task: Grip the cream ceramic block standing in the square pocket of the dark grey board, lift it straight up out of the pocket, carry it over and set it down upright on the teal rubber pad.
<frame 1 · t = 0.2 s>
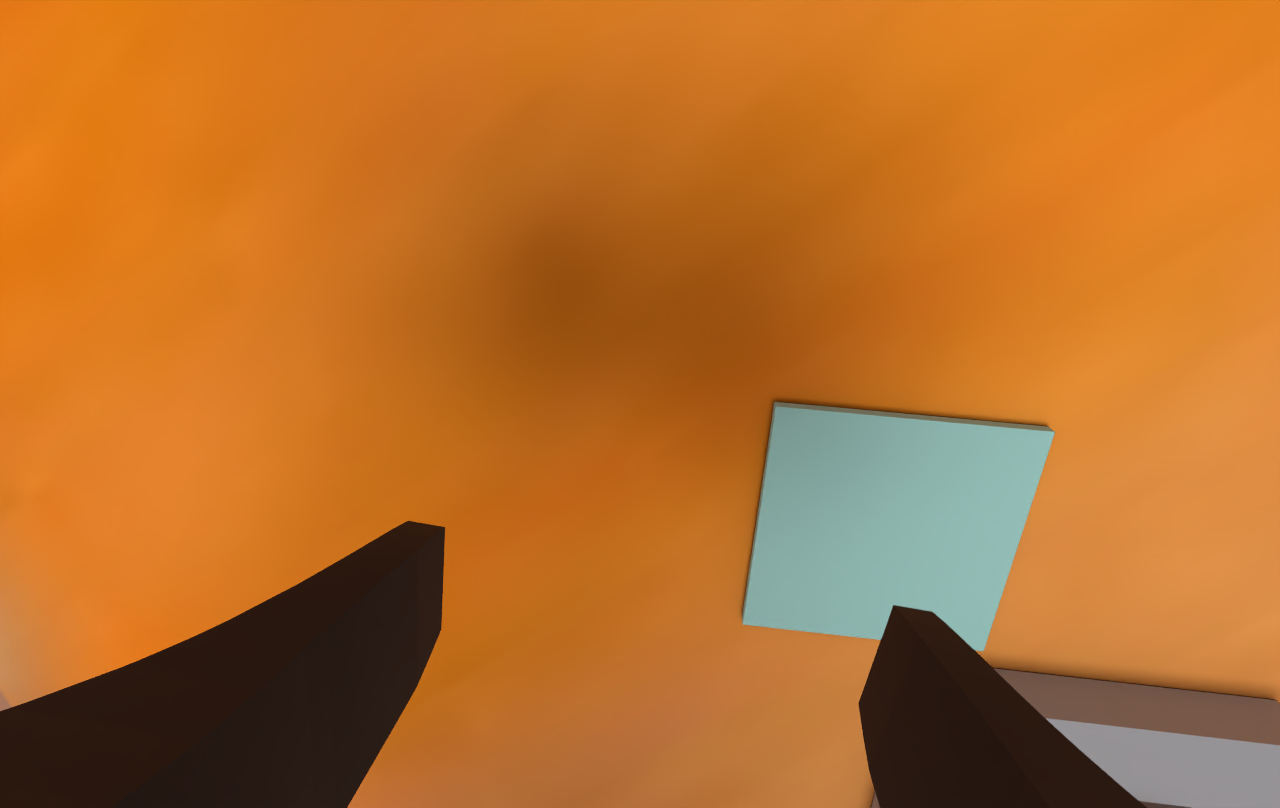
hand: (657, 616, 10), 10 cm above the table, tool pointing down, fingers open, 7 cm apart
pocket board: (1040, 803, 24), on the table
pad: (882, 529, 21), on the table
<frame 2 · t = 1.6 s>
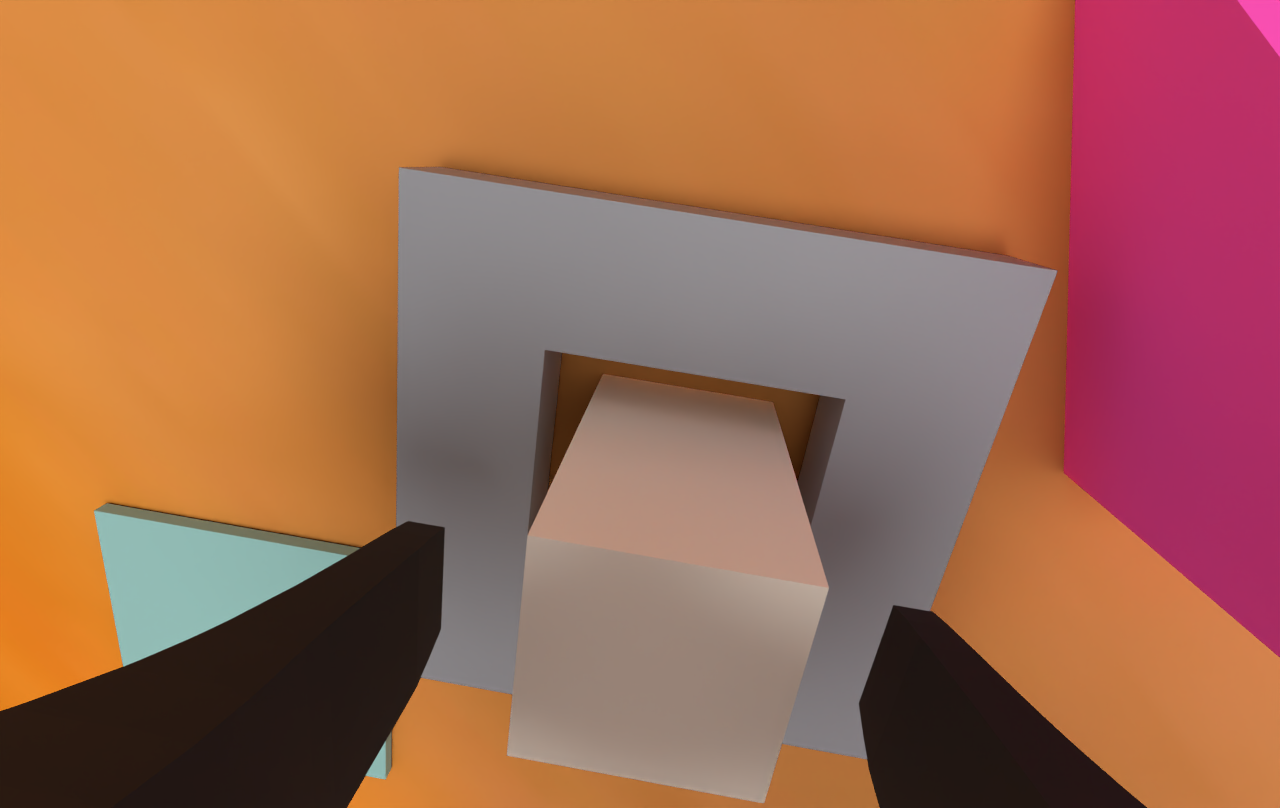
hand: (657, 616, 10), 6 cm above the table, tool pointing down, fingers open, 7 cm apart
block: (666, 543, 12), in the pocket board
pocket board: (673, 465, 16), on the table
pad: (259, 644, 19), on the table
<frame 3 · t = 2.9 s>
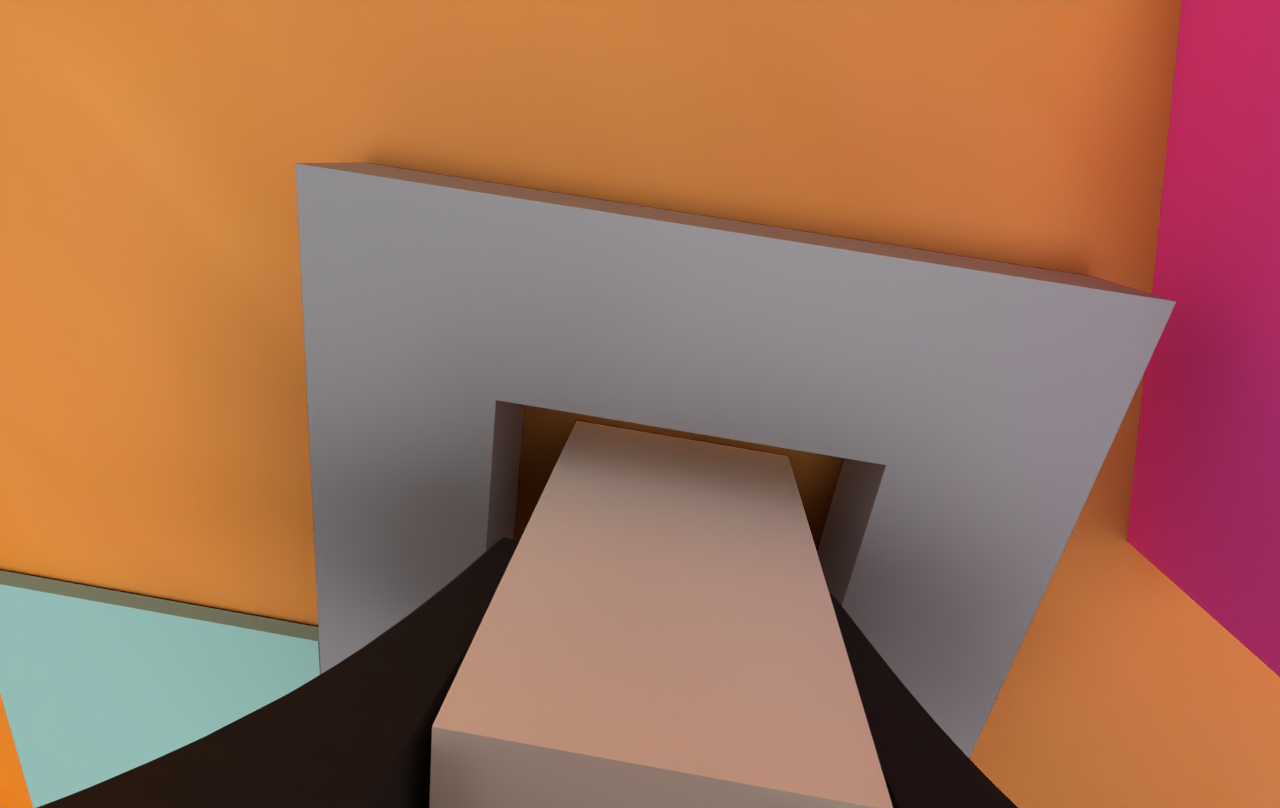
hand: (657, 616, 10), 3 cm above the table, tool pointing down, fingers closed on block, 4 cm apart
block: (653, 656, 9), in the pocket board, touching gripper
pocket board: (665, 529, 13), on the table
pad: (176, 728, 16), on the table
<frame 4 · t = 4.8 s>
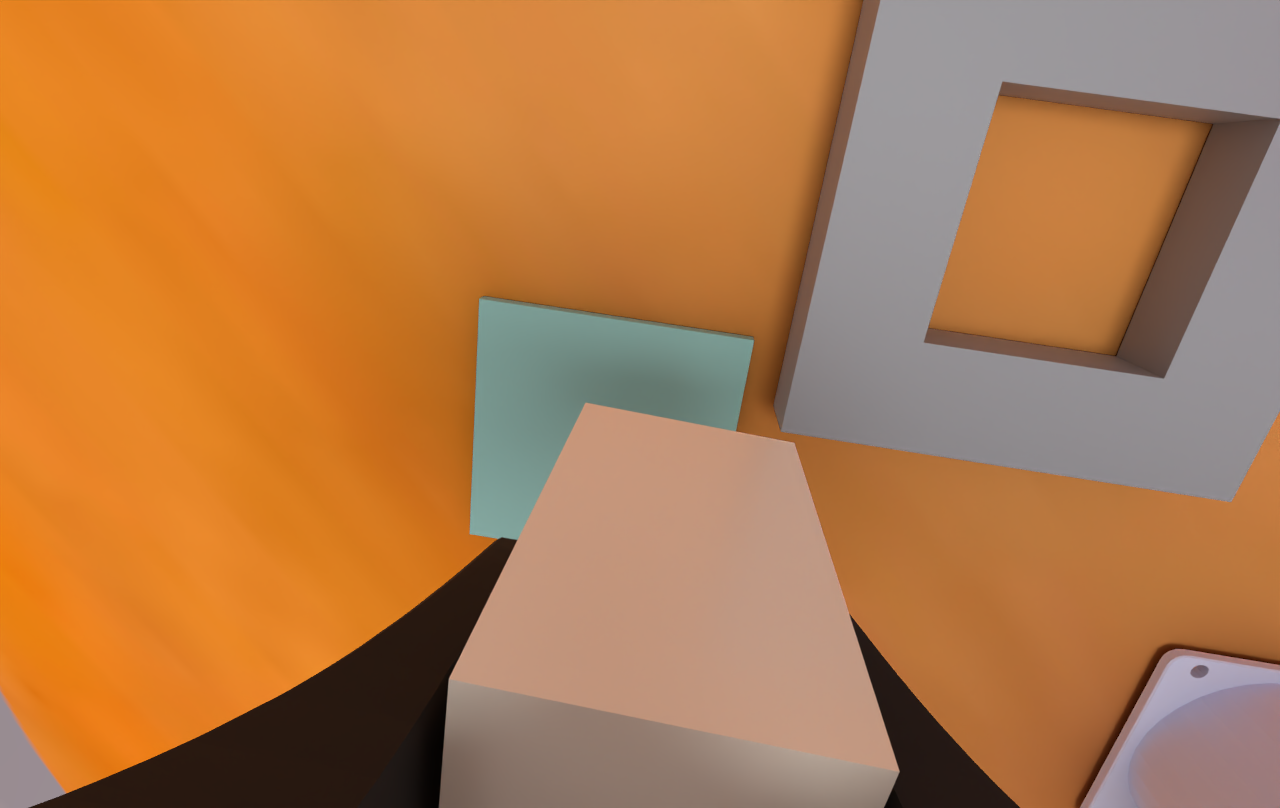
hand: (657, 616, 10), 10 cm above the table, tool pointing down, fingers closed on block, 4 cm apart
block: (658, 632, 10), point 11 cm above the table, touching gripper
pocket board: (1046, 230, 17), on the table
pad: (602, 439, 20), on the table
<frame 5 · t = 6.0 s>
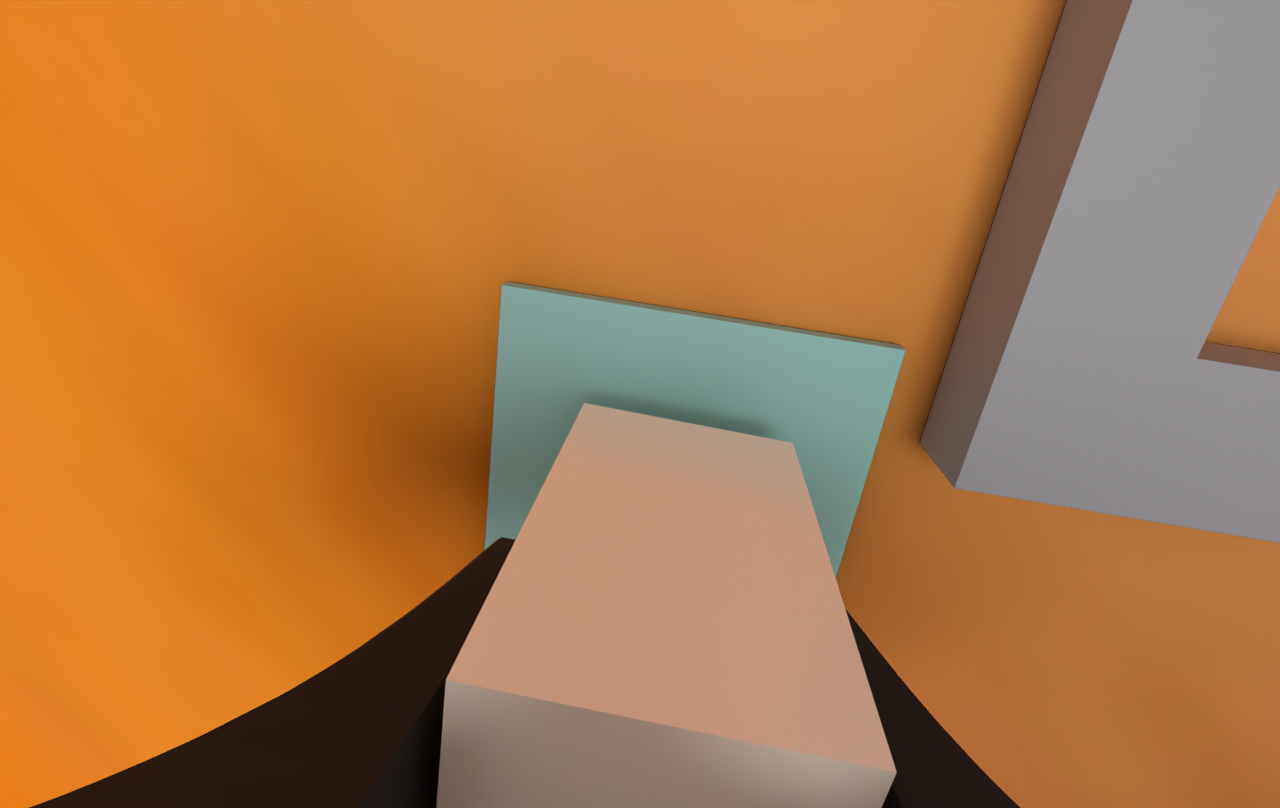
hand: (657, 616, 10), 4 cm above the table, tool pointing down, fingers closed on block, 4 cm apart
block: (656, 633, 10), point 5 cm above the table, touching gripper
pad: (670, 486, 14), on the table
when the fingers open (4 cm above the table, at t = 6.9 s): block stays where it is, resting on pad.
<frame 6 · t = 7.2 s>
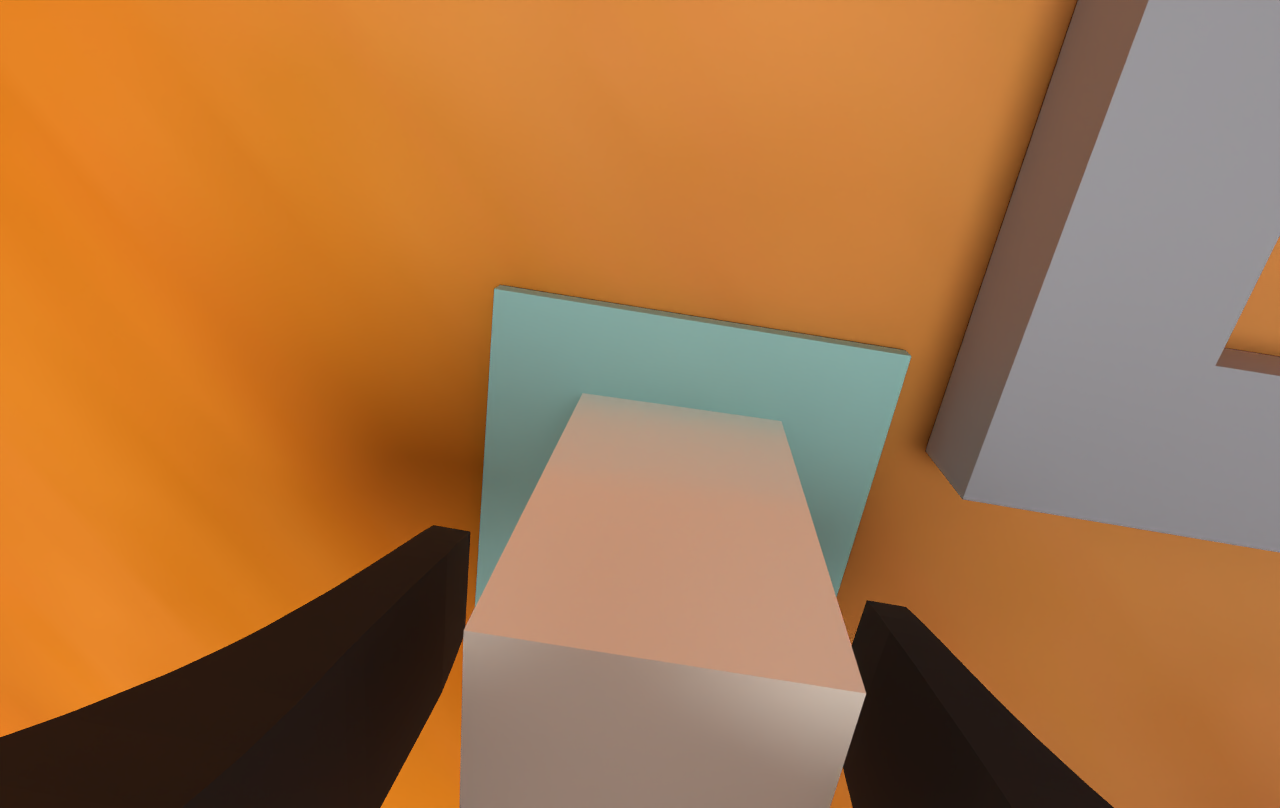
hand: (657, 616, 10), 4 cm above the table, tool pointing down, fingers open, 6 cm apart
block: (658, 600, 10), on the pad
pad: (668, 495, 14), on the table
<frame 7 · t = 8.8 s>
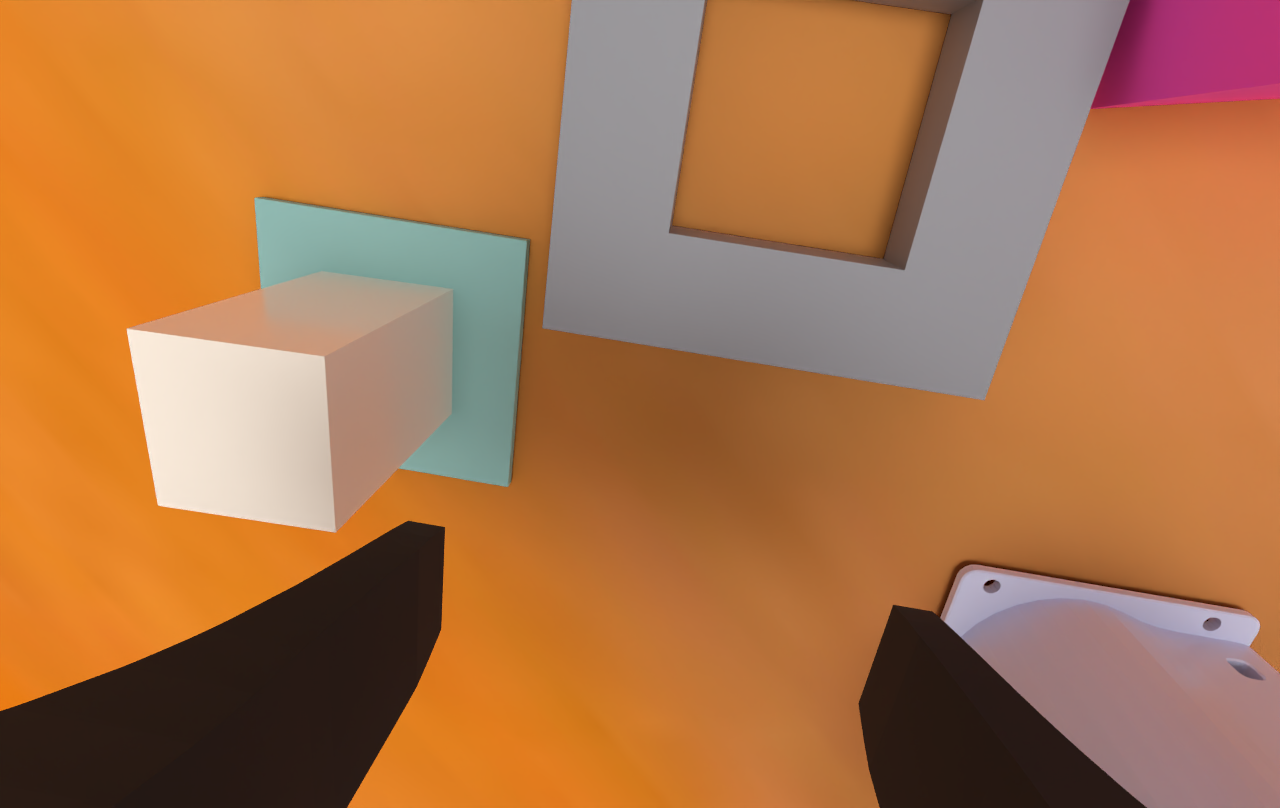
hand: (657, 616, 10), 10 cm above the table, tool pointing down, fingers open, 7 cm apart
block: (327, 381, 17), on the pad
pocket board: (802, 127, 17), on the table
pad: (395, 348, 20), on the table
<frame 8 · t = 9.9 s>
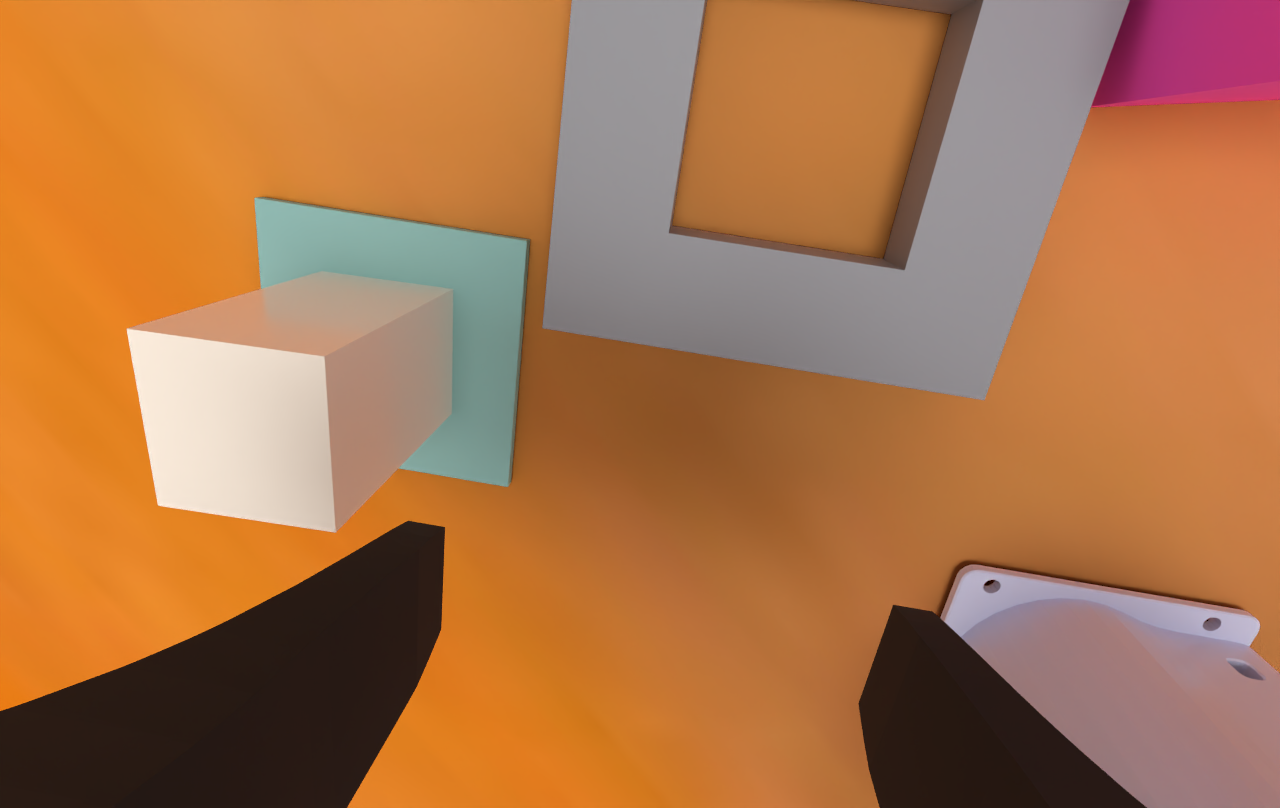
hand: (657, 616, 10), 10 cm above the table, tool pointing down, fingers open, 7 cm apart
block: (327, 381, 17), on the pad
pocket board: (802, 127, 17), on the table
pad: (395, 348, 20), on the table
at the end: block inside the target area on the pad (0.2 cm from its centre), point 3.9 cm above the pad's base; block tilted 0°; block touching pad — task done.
